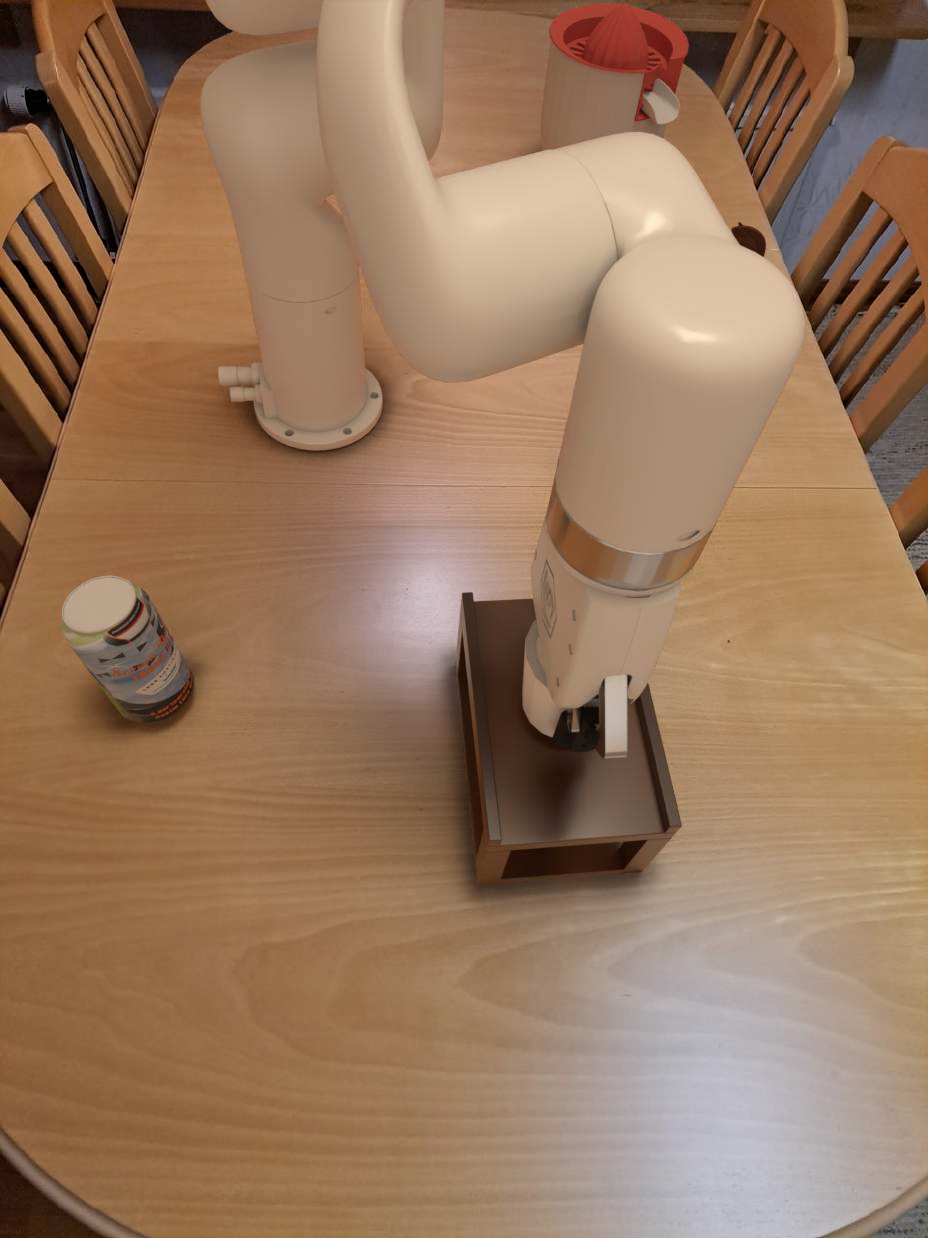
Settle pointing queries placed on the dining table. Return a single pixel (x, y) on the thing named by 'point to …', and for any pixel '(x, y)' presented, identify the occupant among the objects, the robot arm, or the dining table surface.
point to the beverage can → (127, 648)
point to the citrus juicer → (610, 74)
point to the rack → (550, 769)
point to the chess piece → (750, 238)
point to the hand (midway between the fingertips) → (567, 687)
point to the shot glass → (540, 688)
